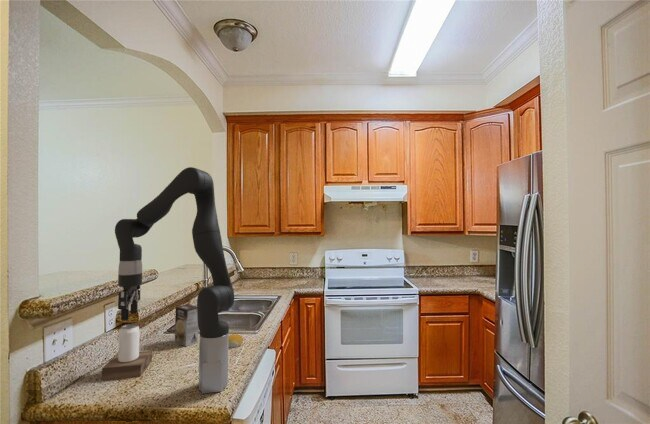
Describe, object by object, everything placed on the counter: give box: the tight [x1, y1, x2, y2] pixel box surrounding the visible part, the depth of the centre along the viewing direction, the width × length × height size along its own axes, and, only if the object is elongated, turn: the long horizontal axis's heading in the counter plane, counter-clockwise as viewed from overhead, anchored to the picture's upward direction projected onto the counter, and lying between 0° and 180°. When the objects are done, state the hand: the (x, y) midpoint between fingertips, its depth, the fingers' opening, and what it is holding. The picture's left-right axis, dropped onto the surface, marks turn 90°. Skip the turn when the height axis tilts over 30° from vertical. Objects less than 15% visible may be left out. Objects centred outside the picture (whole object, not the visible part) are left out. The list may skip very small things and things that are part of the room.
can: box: [117, 323, 141, 363], centre depth 114 cm, size 6×6×12 cm
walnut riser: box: [101, 350, 153, 381], centre depth 114 cm, size 12×12×4 cm
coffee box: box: [174, 303, 199, 347], centre depth 141 cm, size 9×6×16 cm
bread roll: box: [228, 333, 244, 349], centre depth 139 cm, size 8×9×4 cm
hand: (129, 316), depth 114 cm, fingers open, 8 cm apart
